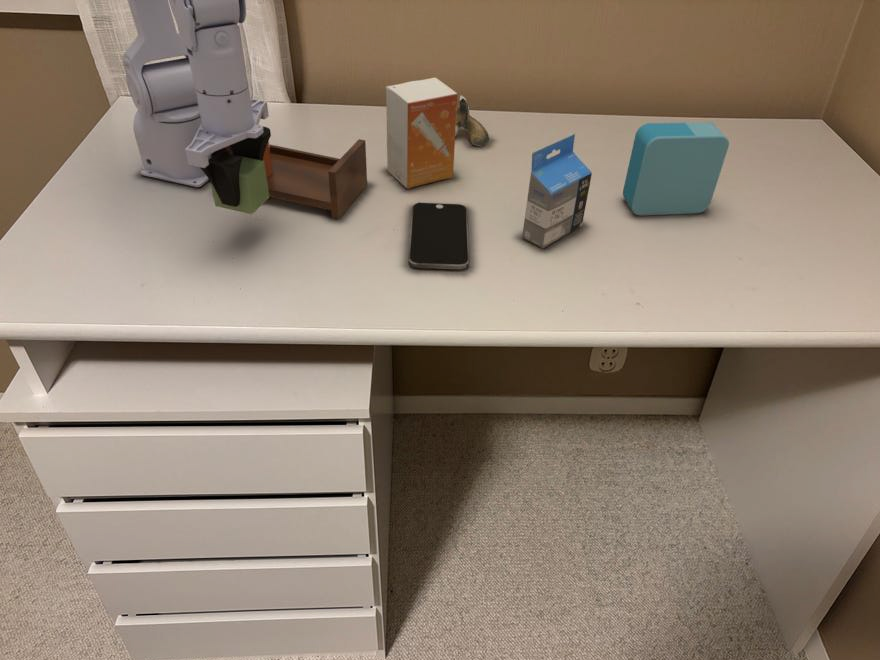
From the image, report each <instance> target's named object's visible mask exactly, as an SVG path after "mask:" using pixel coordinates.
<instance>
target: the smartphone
mask: <svg viewBox="0 0 880 660" xmlns="http://www.w3.org/2000/svg"><path fill="white" fill-rule="evenodd" d="M468 224H469V223H468V208H467V207H466V206H465V205H463V204H459V203H438V202H437V203H436V202H417V203H415V204H413V205H412V206H411V219H410V231H409V241H408V247H409V248H408V265H409V266H410V267H412V268H416V269H435V270H440V269H441V270H464V269H467V268H468V267H469V265H470V245H469V227H468V226H469V225H468Z"/></svg>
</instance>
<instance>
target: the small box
mask: <svg viewBox="0 0 880 660" xmlns="http://www.w3.org/2000/svg"><path fill="white" fill-rule="evenodd" d="M385 93H386V94H385V99H386V105H385V106H386V158H387V161H386V162H387V172H388V173H389V174H390V175H391V176H392V177H393V178H394V179H396V180H397V181H398V182H399V183H400V184H401V185H402V186H404V188H406V189H407V190H409V189H412V188H415V187H418V186H422V185H426V184H430V183H435V182H439V181H442V180H447V179H452V178H453V177H454V167H455V165H454V164H455V148H456V147H455V145H456V136H455V130H456V112H457V109H458V92H457V91H455V90H453V89H452V88H451V87H450V86H448V85H447V84H445V83H443V82H442V81H441V80H440V79H438V78H437V77H431V78H426V79H420V80H411V81H406V82H402V83H398V84H393V85H386V86H385Z"/></svg>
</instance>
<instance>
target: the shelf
mask: <svg viewBox="0 0 880 660" xmlns="http://www.w3.org/2000/svg"><path fill="white" fill-rule="evenodd" d="M269 145H270V152H271V159H272V166H273V174H272V175H271V176H270V177H268V178H267V184H268V191H269V198H273V199H278V200H282V201H286V202H287V201H288V202H291V203H295V204H299V205H304V206H305V205H306V206H309V207H314V208H318V209H323V210H329V211H331V219H335V220H340V219H341V218H342V216H343V215H344V214H345V212H346V211H348V209H349V208H350V207H351V206H352V204H353V203H354V202H355V201H356V200H357V198H358V197H359V196H360V195H361V194H362V193H363V191H364V190H365V189H366V188H367V187H368V173H367V172H368V171H367V169H368V167H367V147H366V140H365V139H361V138H360V139H357V140H356V142H355V143H354V144H353V145H352V146H351V147H349V149H348V150H347V151H346V152H345V153H344V154H343V155H342V156H341V157H340V158H338V157H334V156H328V155H325V154H324V155H323V154H320V153H319V154H318V153H313V152H309V151H304V150H299V149H294V148H290V147H284V146H280V145H275V144H270V143H269ZM226 150H227V151H229V152H230V154H232V155H233V152H232V150H231V148H230V145H229V146H227V147H226Z"/></svg>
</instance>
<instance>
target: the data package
mask: <svg viewBox="0 0 880 660" xmlns="http://www.w3.org/2000/svg"><path fill="white" fill-rule="evenodd" d="M729 147H730V142H729V139H728V137H727V136H726V135H725V134H724V133H723V132H722V131H721V130H720V129H719V128H718V127H717V126H716V124H715V123H713V122H709V121H708V122H707V121H705V122H704V121H703V122H702V121H701V122H698V121H697V122H694V121H693V122H648V123H645V124H642V125H641V126H640V127H639V128H638V129H637V130H636V132H635V136H634V140H633V145H632V149H631V153H630V158H629V161H628V162H629V163H628V166H627V171H626V176H625V180H624V184H623V189H622V196H623V198H624V200H625V202H626V203H627V205H628V206H629V209H630V210H631V211H632V212H633V214H635V215H636V216H641V217H642V216H661V215H663V216H665V215H688V214H701V213H703V212H705V211H706V210H707V209H708V208H709V207H710V205H711V203H712V200H713V196H714V193H715V191H716V187H717V184H718V182H719V177H720V175H721V171H722V169H723V165H724V162H725V159H726V156H727V154H728V153H727V152H728V150H729Z"/></svg>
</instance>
